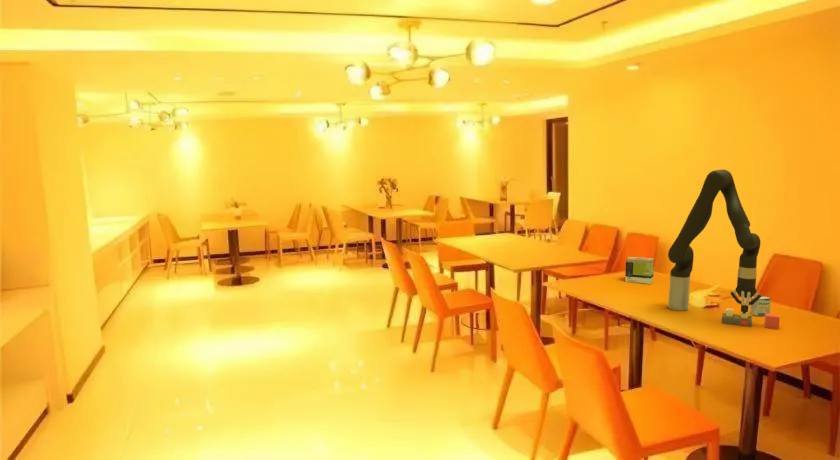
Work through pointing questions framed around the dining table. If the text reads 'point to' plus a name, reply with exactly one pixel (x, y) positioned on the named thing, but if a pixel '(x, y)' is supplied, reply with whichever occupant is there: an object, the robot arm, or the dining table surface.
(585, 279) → the dining table surface
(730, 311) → the breaker plain
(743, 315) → the breaker tagged
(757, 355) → the dining table surface
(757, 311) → the medicine box
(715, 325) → the dining table surface
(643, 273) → the tea box
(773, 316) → the red block
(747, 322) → the breaker panel
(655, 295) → the dining table surface
